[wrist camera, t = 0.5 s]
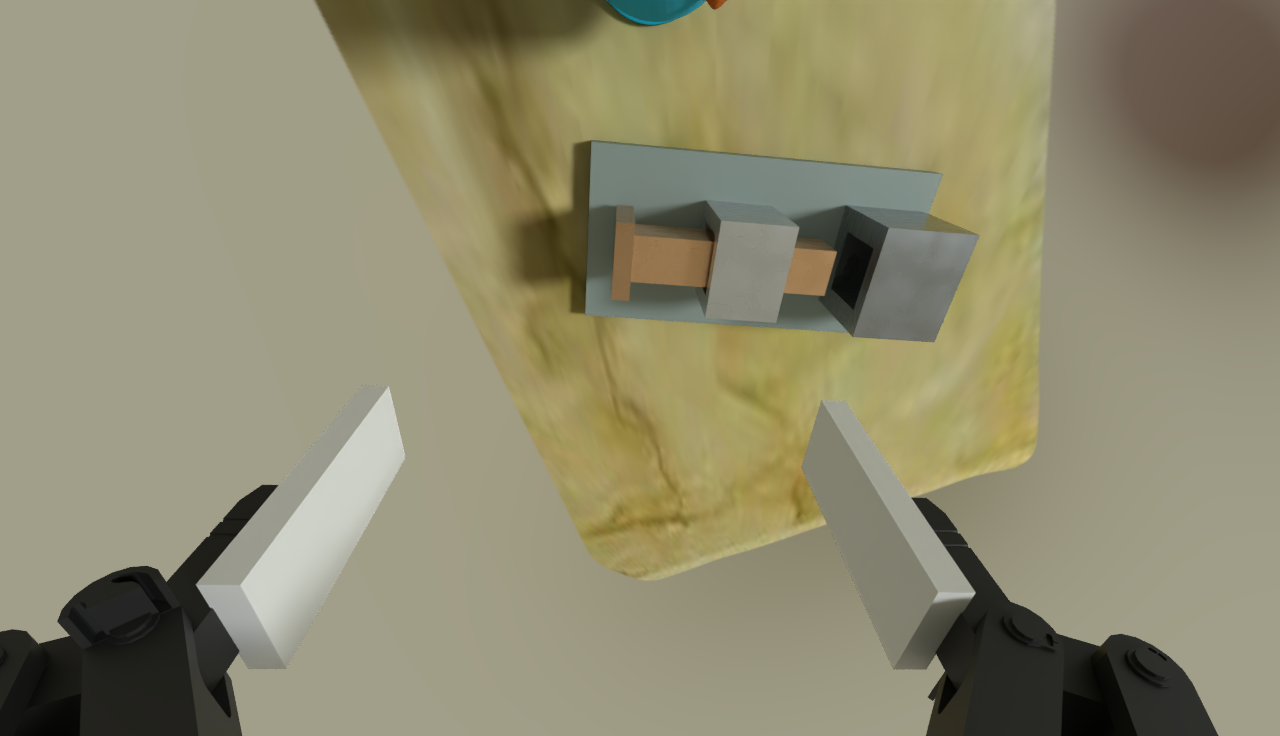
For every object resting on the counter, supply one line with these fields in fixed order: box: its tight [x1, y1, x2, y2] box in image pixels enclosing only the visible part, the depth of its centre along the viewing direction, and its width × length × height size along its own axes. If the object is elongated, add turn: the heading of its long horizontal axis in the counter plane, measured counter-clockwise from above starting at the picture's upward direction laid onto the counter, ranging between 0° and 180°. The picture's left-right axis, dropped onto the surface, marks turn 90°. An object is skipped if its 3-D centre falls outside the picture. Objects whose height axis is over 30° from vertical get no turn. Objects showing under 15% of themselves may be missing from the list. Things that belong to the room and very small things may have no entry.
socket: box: [819, 205, 980, 342], centre depth 36 cm, size 8×6×7 cm
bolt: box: [611, 205, 837, 301], centre depth 35 cm, size 5×15×5 cm, turn 85°
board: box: [585, 140, 943, 333], centre depth 39 cm, size 13×26×1 cm, turn 85°
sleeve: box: [694, 200, 799, 323], centre depth 35 cm, size 7×5×6 cm
